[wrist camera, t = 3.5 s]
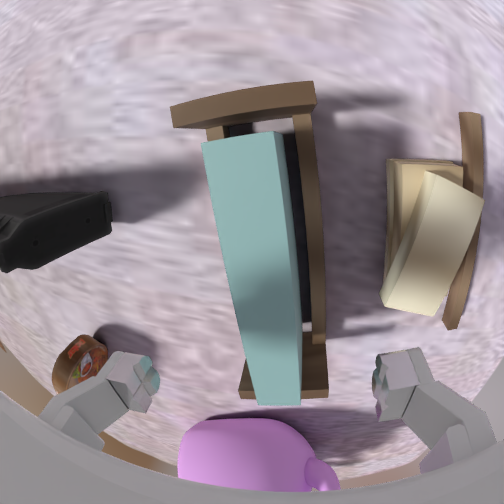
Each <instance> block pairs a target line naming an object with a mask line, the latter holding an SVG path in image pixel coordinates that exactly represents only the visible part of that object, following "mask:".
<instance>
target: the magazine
mask: <svg viewBox="0 0 504 504" xmlns="http://www.w3.org/2000/svg"><path fill="white" fill-rule="evenodd" d="M111 222H113V220H112V212H111V203H110V202H108V193H106V192H104V191H101V192H97V193H32V194H21V195H12V196H5V197H0V270H1V271H2V272H4V273H9V272H11V271H12V270H14V269H16V268H22V269H31V270H33V269H38V268H40V267H42V266H44V265H45V264H47V263H49V262H51V261H53V260H55V259H57V258H59V257H61V256H63V255H65V254H67V253H69V252H72V251H74V250H76V249H78V248H80V247H82V246H84V245H86V244H88V243H91V242H93V241H95V240H97V239H99V238H102V237H104V236H106V235H108V234H110V233H111V231H112V227H111Z"/></svg>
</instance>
